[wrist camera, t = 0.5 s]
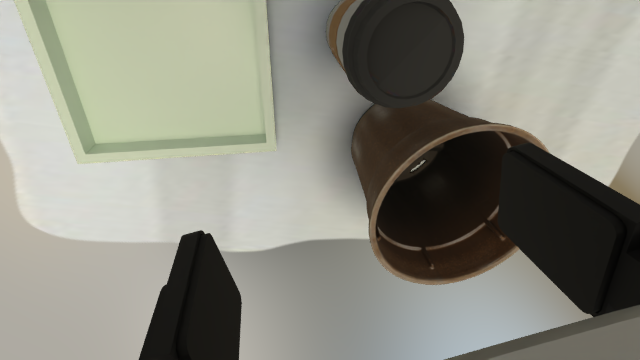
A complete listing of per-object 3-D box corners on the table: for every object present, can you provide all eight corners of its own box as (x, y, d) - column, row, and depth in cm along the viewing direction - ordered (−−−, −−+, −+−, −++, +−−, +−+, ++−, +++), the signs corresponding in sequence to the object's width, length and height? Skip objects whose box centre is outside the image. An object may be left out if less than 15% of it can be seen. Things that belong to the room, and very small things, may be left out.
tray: (26, -24, 29) (3, -26, 26) (263, -24, 32) (264, -25, 29) (90, 151, 37) (77, 163, 34) (275, 140, 40) (276, 150, 37)
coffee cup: (298, 31, 34) (322, 57, 22) (357, -38, 32) (423, -56, 19) (353, 87, 38) (402, 137, 25) (409, 28, 36) (494, 50, 23)
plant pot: (392, 216, 48) (447, 309, 34) (305, 154, 41) (330, 238, 27) (482, 130, 44) (587, 197, 30) (401, 44, 37) (489, 78, 23)
